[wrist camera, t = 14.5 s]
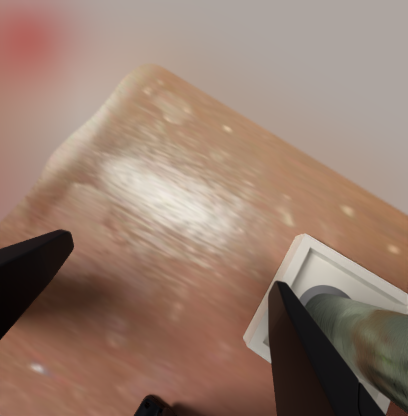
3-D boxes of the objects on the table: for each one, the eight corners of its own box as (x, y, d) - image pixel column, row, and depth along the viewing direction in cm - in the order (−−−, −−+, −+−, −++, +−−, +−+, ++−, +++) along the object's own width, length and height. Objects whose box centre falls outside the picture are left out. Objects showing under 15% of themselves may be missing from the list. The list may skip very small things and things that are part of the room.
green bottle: (316, 358, 18) (732, 723, 4) (294, 302, 20) (547, 421, 5) (364, 340, 19) (908, 612, 4) (339, 286, 20) (696, 356, 5)
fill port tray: (357, 418, 18) (377, 439, 16) (242, 337, 20) (247, 346, 18) (400, 298, 21) (422, 302, 18) (295, 235, 22) (305, 233, 20)
